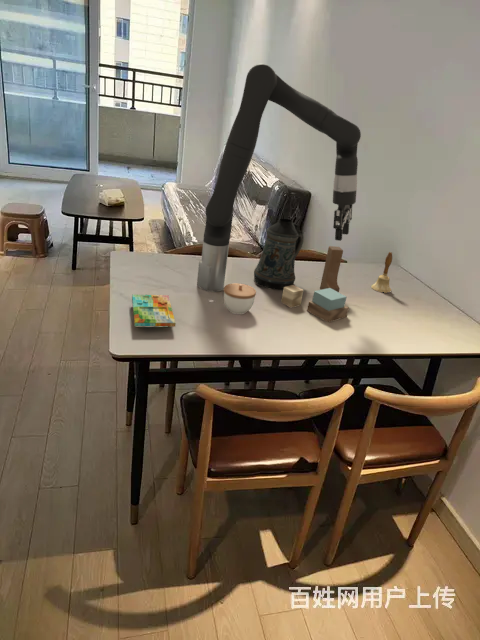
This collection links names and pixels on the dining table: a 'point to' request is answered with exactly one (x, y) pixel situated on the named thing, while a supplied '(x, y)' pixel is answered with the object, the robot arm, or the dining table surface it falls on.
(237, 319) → the dining table surface
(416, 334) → the dining table surface
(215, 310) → the dining table surface
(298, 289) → the maple block
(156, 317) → the puzzle game
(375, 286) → the hand bell
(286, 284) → the beer stein
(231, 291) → the lidded jar
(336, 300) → the tower top
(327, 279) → the wooden block
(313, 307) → the tower base
